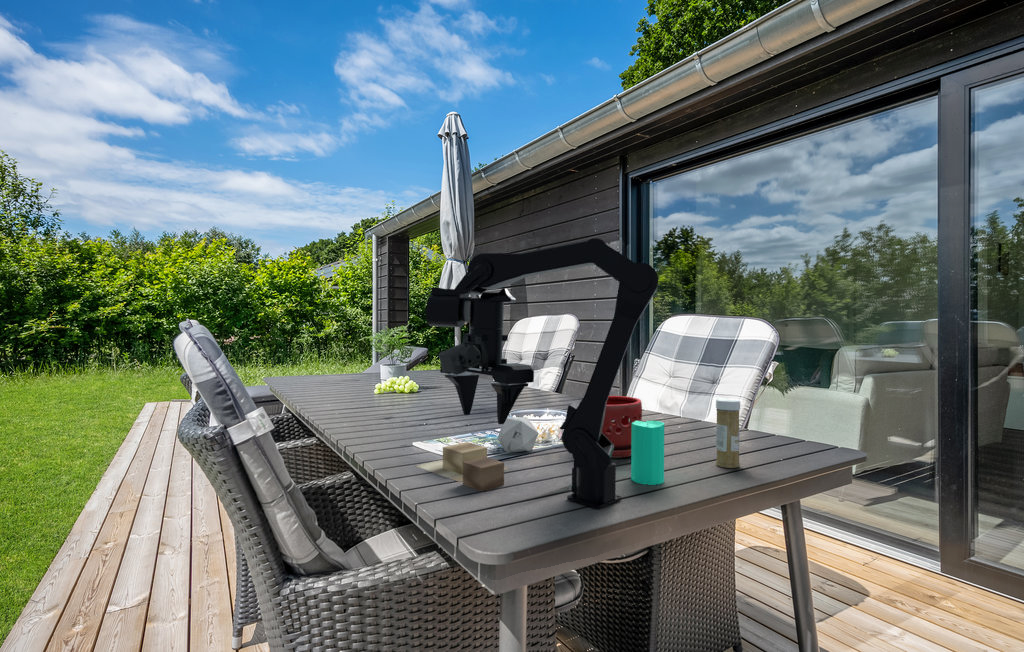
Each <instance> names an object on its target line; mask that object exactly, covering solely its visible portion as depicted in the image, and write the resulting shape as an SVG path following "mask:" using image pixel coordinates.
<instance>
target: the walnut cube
mask: <svg viewBox="0 0 1024 652" xmlns="http://www.w3.org/2000/svg"><path fill="white" fill-rule="evenodd" d="M504 467H505V462H503V461H500V460H497V459H494V458H491V457H488V456H487V457H482V458H478V459H474V460H470V461H465V462H463V481H462V485H463V486H465V487H468V488H470V489H473V490H476V491H479V492H486V491H489V490H493V489H496V488H499V487H502V486H504V485H505V470H504Z"/></svg>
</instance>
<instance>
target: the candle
mask: <svg viewBox="0 0 1024 652" xmlns="http://www.w3.org/2000/svg"><path fill="white" fill-rule="evenodd" d="M630 457H631V458H630V459H631V463H630V464H631V465H630V466H631V467H630V475H631V476H630V481H633V482H634V483H637V484H641V485H646V484H648V485H647V486H649V485H650V486H654V485H656V484H657V485H661V484H663V483H665V422H663V421H660V420H646V421H643V420H641V421H635V422H633V423H632V432H631V456H630ZM657 485H656V486H657Z"/></svg>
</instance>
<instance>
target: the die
mask: <svg viewBox="0 0 1024 652" xmlns="http://www.w3.org/2000/svg"><path fill="white" fill-rule="evenodd" d="M539 434H540V433H539V431H538V430H537V429H536V427H535V426H534V425H533V423H532V422H531V420H530V419H529V418H528V417H527V416H519V417H516V416H515V417H507V419H506V421H505V423H504V424H501V427H500V430H499V432H498V435H497V441H498V442H499V443H498V444H500V445H501V447H502V449H503V451H505V452H509V453H510V452H511V453H521V452H522V453H523V452H530V451H533V450H534V446H535V444H536V441H537V440H538V436H539Z"/></svg>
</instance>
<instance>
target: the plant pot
mask: <svg viewBox="0 0 1024 652" xmlns="http://www.w3.org/2000/svg"><path fill="white" fill-rule="evenodd" d="M642 405H643V404H642V400H641V399H640V398H637V397H633V396H623V395H609V397H608V400H607V404H606V411H605V417H604V423H603V428H602V433H603V434H604V435H605V436H606V437H607V438H608V439H609V440H610V441H611V442H612V443H613V444H614V449H613V453H612V456H611V459H621V458H622V459H623V458H628V457H631V432H632V423H633V422H635V421H643V420H642V418H643V406H642Z"/></svg>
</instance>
